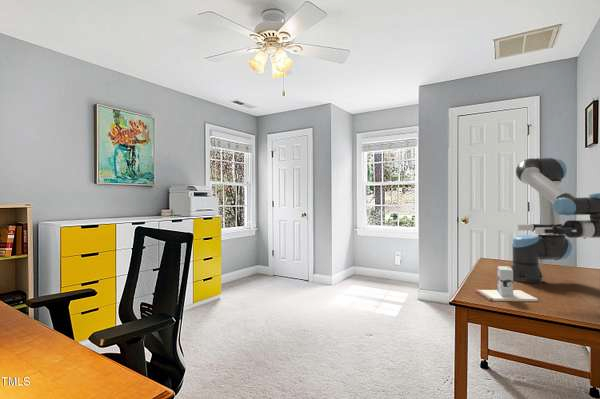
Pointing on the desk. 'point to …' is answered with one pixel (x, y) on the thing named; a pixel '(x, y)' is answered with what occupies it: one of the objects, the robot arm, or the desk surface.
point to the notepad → (495, 296)
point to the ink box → (505, 281)
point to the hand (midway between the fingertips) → (526, 229)
